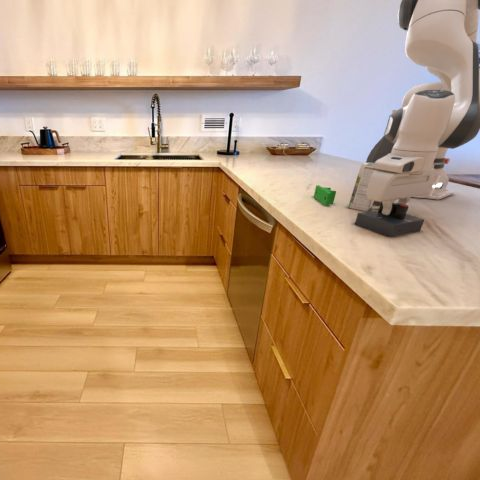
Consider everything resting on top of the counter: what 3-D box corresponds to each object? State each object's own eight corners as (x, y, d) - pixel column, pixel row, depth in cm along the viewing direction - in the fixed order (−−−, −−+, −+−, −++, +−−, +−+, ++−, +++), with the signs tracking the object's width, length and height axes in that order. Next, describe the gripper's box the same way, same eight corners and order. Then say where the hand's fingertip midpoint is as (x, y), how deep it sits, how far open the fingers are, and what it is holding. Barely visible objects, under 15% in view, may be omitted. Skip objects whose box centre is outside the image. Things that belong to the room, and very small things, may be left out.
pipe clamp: (336, 206, 98) (340, 193, 96) (325, 206, 98) (328, 193, 96) (323, 197, 108) (326, 185, 106) (313, 196, 108) (316, 184, 106)
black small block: (377, 212, 81) (381, 199, 79) (381, 212, 81) (385, 199, 80) (400, 219, 76) (405, 206, 74) (404, 218, 76) (409, 205, 75)
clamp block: (382, 219, 86) (386, 207, 85) (420, 231, 78) (425, 218, 76) (354, 224, 82) (357, 212, 81) (390, 237, 74) (395, 224, 72)
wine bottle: (384, 206, 98) (417, 110, 85) (356, 203, 100) (385, 110, 88) (377, 200, 104) (407, 110, 92) (352, 197, 107) (377, 110, 95)
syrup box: (352, 204, 100) (365, 161, 94) (372, 208, 96) (386, 164, 90) (347, 207, 96) (360, 163, 90) (368, 212, 92) (382, 166, 86)
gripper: (421, 157, 79) (404, 205, 84) (370, 162, 72) (354, 214, 78) (449, 161, 73) (428, 212, 79) (396, 166, 67) (377, 221, 72)
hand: (391, 213), depth 78 cm, fingers open, 3 cm apart
